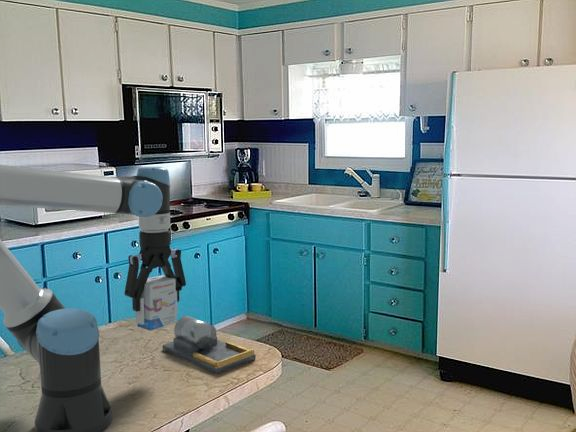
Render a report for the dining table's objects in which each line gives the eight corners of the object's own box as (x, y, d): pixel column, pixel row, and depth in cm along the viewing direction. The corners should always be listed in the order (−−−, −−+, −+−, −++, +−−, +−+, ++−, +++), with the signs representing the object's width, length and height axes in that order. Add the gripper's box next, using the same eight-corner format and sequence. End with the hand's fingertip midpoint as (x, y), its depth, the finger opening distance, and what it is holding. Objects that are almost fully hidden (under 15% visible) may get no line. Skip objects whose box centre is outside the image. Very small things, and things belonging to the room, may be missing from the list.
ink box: (150, 331, 144) (149, 283, 142) (136, 327, 147) (135, 280, 145) (176, 322, 150) (176, 277, 149) (163, 318, 153) (162, 274, 152)
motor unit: (217, 374, 148) (216, 341, 147) (162, 350, 165) (161, 320, 164) (255, 359, 158) (254, 328, 156) (200, 337, 174) (199, 309, 173)
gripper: (123, 237, 135) (126, 332, 138) (199, 227, 150) (201, 313, 153) (106, 233, 140) (109, 325, 143) (182, 223, 155) (183, 307, 159)
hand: (156, 318), depth 148 cm, fingers closed on ink box, 9 cm apart
